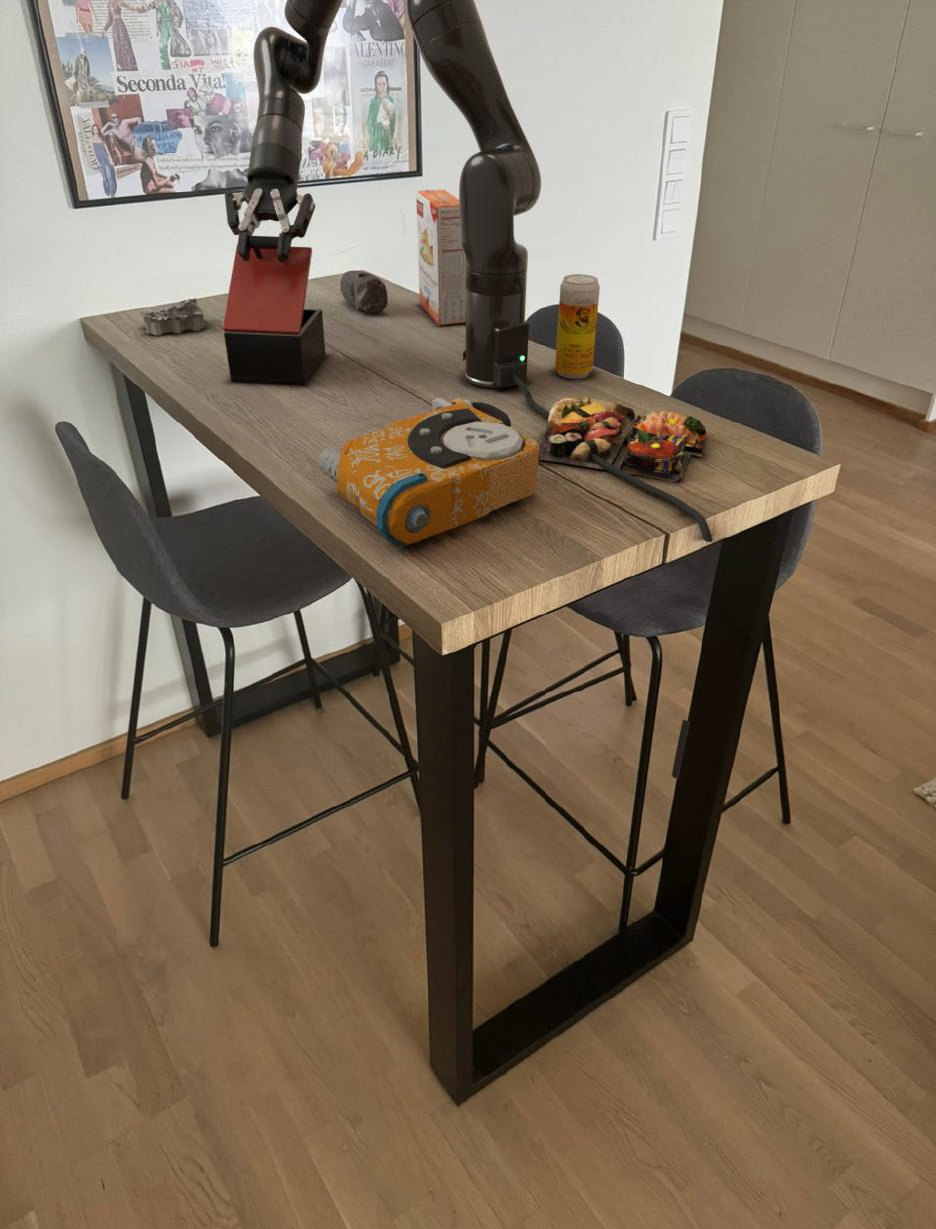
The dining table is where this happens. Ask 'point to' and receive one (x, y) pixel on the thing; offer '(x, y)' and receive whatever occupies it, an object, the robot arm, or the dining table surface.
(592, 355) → the beer can
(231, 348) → the black open box
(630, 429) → the food
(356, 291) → the perforated stone tool
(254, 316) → the lid
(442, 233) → the cracker box
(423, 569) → the dining table surface
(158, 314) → the egg carton
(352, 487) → the device
